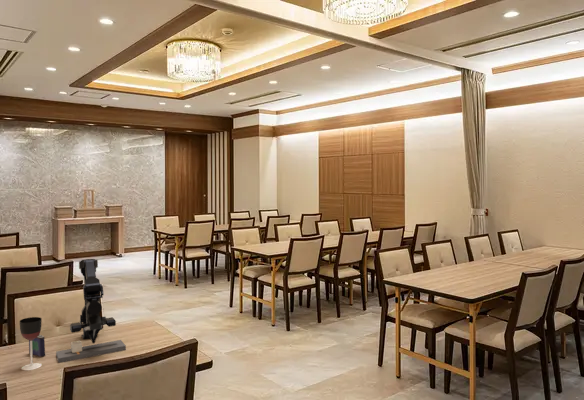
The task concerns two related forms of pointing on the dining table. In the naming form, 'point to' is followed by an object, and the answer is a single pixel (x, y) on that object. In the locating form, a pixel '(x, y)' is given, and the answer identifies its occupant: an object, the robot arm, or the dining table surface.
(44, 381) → the dining table surface
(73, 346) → the fader tab
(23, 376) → the dining table surface
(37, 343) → the flask
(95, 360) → the dining table surface
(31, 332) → the wineglass
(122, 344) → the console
